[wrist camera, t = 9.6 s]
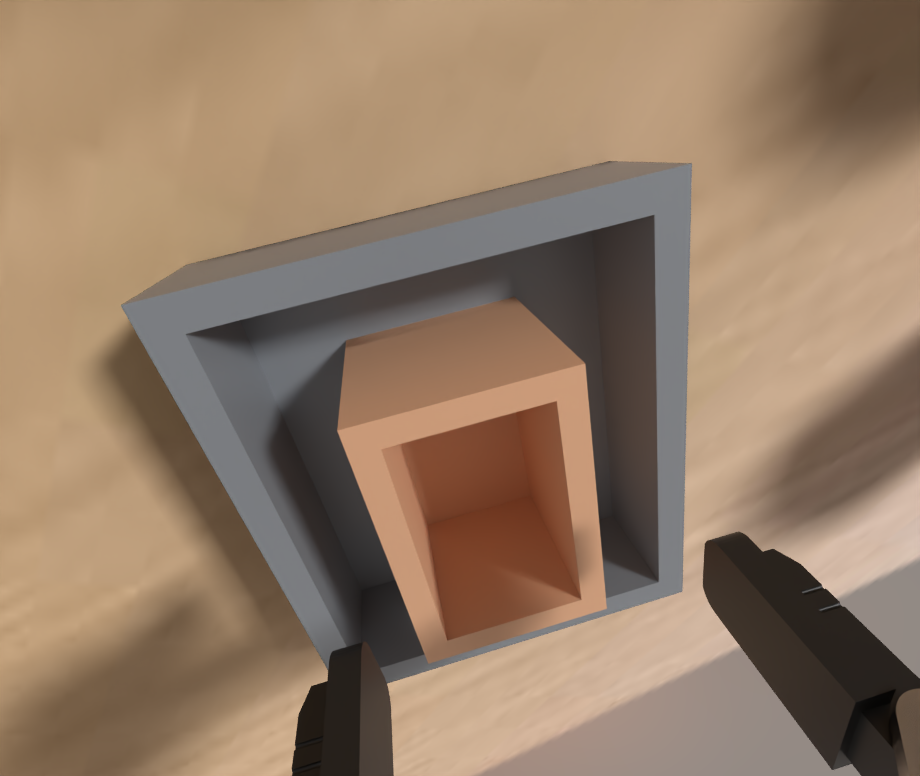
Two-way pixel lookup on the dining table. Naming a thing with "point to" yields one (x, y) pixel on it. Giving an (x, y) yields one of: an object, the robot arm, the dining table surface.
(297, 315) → the grey crate
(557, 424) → the terracotta crate
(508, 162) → the dining table surface
